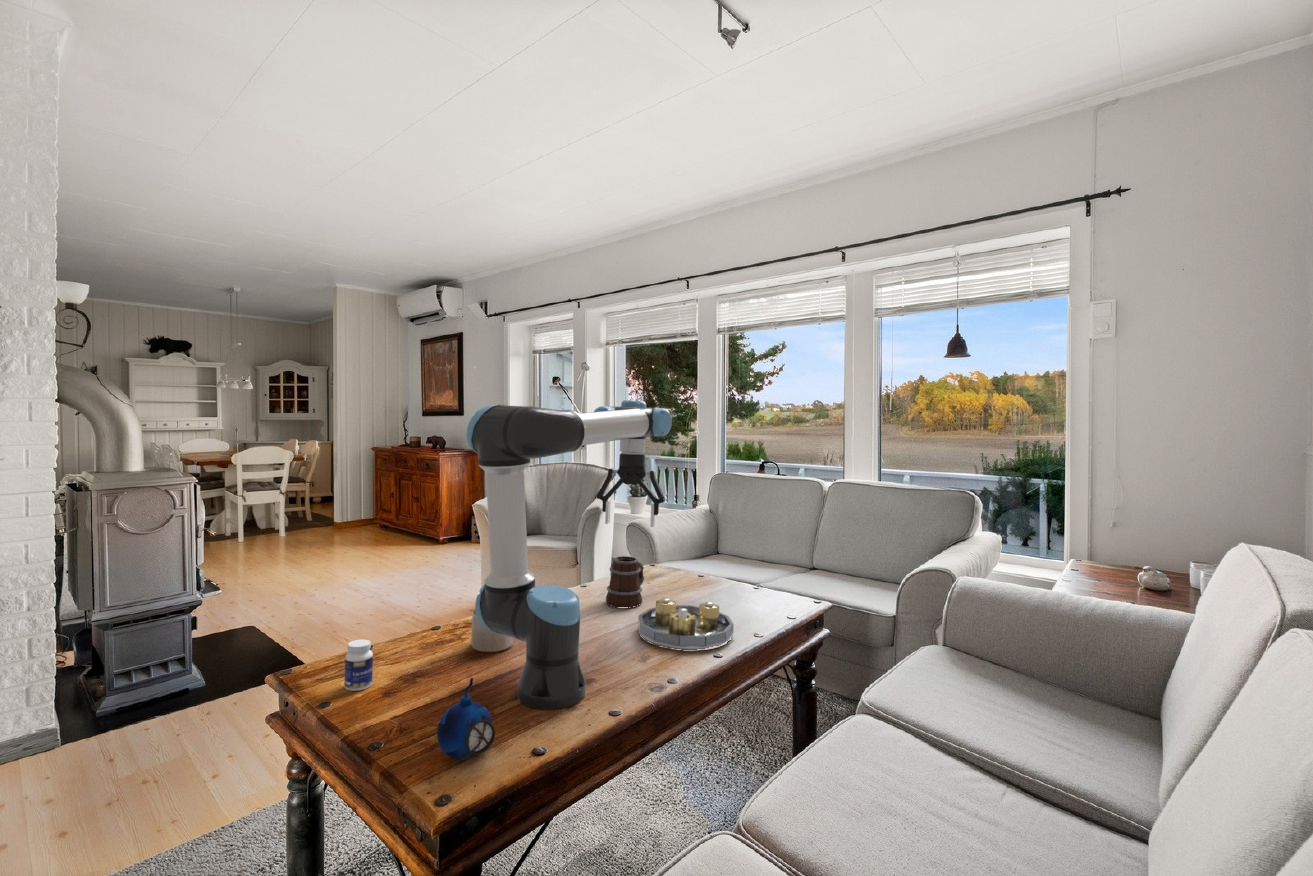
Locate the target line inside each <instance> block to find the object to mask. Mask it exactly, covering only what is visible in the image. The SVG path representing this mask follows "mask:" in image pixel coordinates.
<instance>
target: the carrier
mask: <svg viewBox="0 0 1313 876" xmlns="http://www.w3.org/2000/svg"><path fill="white" fill-rule="evenodd" d="M677 612H679V616H678V618H681V619H686V618H687V613H691V615H695V616H696V623H695V636H680V635H675V634H670V633H669V616H670V614H671V613H674V614H675V613H677ZM637 621H638V623H637V625H638V634H639V633H640V635H641V636H642V637H643V638H644V639H645V640H646V641H649V642H651V643H653V644H655V645H657V646H663V647H667V648H674V649H681V650H697V649H705V648H709V647H713V646H719V645H721V644H723V643H725V642H726V641H728V640H729V639H730V637H731V638H732V636H733V634H734V622H733V621H732V619H731V618H730V616H729V615H727V614H724V613H723V612H720V605H719V604H717V603H714V602H713V601H705V602H703V603H700V604H699V605H698V606H696V605H691V604H689V605H683V604H681V605H680V604H677V602H676V601H675V600H673V599H670V598H669V597H663V598H661V599H658V600H656V601H655V607H651V608H648V609H647V610H644V611H643V612H642V613H640V614H639V615H638V620H637ZM640 635H639V636H640ZM731 635H732V636H731ZM645 640H644V641H645ZM646 641H645V642H646ZM655 645H654V646H655ZM657 646H656V647H657Z"/></svg>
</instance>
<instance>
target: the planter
mask: <svg viewBox="0 0 1313 876" xmlns="http://www.w3.org/2000/svg"><path fill="white" fill-rule="evenodd" d="M471 613H472V614H471V615H472V617H471V642H470V643H471V648H472V649H474V650H475V651H477V652H480V653H487V654H488V653H489V654H490V653H491V654H492V653H500V652H503V651H506V650H508V649H509V648H511V647H512V645H513V643H514V638H513V637H510V636H507V635H504V634H498V633H495V632H494V631H492V630H490V629H488V628H486V627H485V626H483V625H482V624H481V622H480V621H479V619H478V617H477V614H476V609H473V610H472V612H471Z"/></svg>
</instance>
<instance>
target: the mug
mask: <svg viewBox="0 0 1313 876" xmlns="http://www.w3.org/2000/svg"><path fill="white" fill-rule="evenodd" d="M644 568H645V567H644V565H643V563H642V562H641V561H639V560H638V559H637V558H636V557H634V556H633V557H632V556H625V555H623V556H616V557H614V558H613V560H612V565H611V566H610V567H609V571H610V572H611V574H610V578H609V579H610V580H609V585H608V586H607V587H606V590H607V594H606V596H605V602H607V603H606V604H607V605H608V604H609V605H612V606H611V607H613V606H615V607H614V608H616V607H628V608H627V609H630V608H629V607H633V606H637V605H639V604H641V603H643V597H642V594H641V593H642V592H643V588H642V587H641V586H642V584H643V583H644V580H645V576H644ZM609 605H608V606H609ZM641 605H642V604H641ZM639 606H640V605H639Z"/></svg>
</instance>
